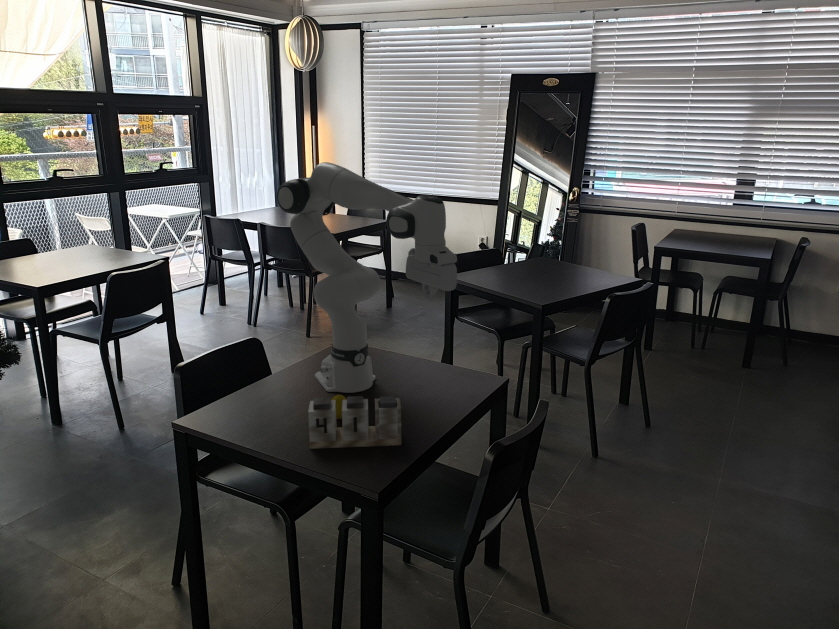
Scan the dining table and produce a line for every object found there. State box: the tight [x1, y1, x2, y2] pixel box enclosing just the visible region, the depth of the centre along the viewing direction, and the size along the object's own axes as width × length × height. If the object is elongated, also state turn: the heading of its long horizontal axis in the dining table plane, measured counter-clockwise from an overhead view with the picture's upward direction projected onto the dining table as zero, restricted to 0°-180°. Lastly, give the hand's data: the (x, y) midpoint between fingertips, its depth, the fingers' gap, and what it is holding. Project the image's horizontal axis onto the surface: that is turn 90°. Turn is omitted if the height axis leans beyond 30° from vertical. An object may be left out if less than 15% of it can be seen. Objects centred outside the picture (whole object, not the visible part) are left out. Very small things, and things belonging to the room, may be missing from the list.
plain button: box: [379, 395, 397, 408], centre depth 179 cm, size 4×4×6 cm
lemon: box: [331, 393, 347, 420], centre depth 191 cm, size 6×6×8 cm
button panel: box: [307, 395, 403, 450], centre depth 179 cm, size 25×9×12 cm, turn 95°
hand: (429, 299), depth 189 cm, fingers closed
